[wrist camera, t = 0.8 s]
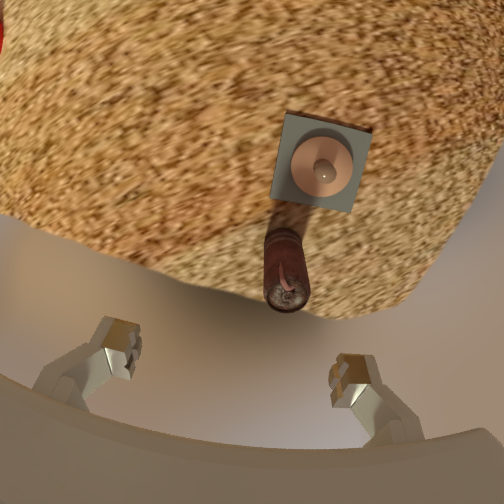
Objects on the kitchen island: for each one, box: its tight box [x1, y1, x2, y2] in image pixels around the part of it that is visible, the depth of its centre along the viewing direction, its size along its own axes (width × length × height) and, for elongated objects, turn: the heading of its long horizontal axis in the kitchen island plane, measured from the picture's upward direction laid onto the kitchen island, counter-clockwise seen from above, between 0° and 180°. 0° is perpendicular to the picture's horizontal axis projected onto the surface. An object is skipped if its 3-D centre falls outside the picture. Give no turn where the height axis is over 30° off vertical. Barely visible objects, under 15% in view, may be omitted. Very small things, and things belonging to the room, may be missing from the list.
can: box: [263, 228, 311, 313], centre depth 44 cm, size 6×6×14 cm
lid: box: [291, 136, 353, 197], centre depth 41 cm, size 9×9×4 cm
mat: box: [270, 113, 373, 213], centre depth 43 cm, size 13×13×1 cm
